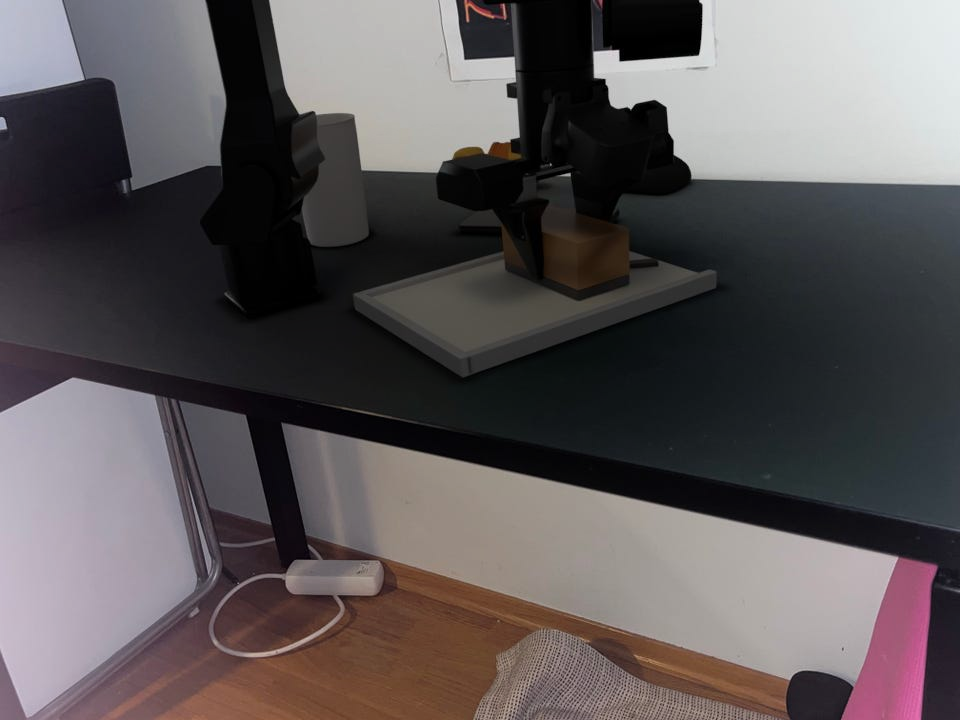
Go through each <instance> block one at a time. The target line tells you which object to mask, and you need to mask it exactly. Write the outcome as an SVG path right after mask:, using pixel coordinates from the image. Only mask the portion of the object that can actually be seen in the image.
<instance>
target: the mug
mask: <svg viewBox="0 0 960 720" xmlns="http://www.w3.org/2000/svg"><path fill="white" fill-rule="evenodd" d="M316 118H317V139H318V143H319V147H320V150H321V151H322V153H323V155H324V157H325V160H324V161H323V162H322V163H320V164H319V175H318V179H317V182H316V183H315V185H314V186H313V188H312V189H311V191H310V192H309V193H308V194H307V195H306V196H304V200H303V206H302V211H301V213H302V217H303V223H304V227H305V228H304V229H305V232H306V236H307V237H306V238H307V239H309V240H310V245H311V246H314V247H319V248H335V247H336V248H337V247H343V246H348V245H352V244H355V243H356V244H357V243H359V242H362V241H363V240H365V239H367V238H368V237H369V234H370V230H369V220H368V211H367V202H366V195H365V187H364V186H365V185H364V179H363V171H362V163H361V155H360V146H359V138H358V131H357V125H356V116H355V115H354V114H353V113H349V112H333V113H331V112H330V113H321V114H320V113H319V114H316Z"/></svg>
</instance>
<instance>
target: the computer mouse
mask: <svg viewBox="0 0 960 720" xmlns="http://www.w3.org/2000/svg"><path fill="white" fill-rule="evenodd" d="M692 177H693V175H692V171H691V168H690V166H689V164H688V163H687V162H686V161H684V160H683V159H681V158H680V157H679V156H677V155H675V154H674V164H671V165H667V166H663V167H659V168H655V169H651V170H647V169H646V170H645V174H644V176H643V179H642V180H641V181H640V182H638V183H635V184H633V185H632V186H631V187H630V188H629V189H628V190H627V191H626V192H632V193H633V192H634V193H643V194H666V193H669V192H673V191H676V190H677V189H679V188H681V187H684V186H685V185H687V184H688V183H689V182H690V181H691V180H692Z"/></svg>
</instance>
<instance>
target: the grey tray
mask: <svg viewBox="0 0 960 720" xmlns="http://www.w3.org/2000/svg"><path fill="white" fill-rule="evenodd" d="M653 258H654V257H650V256H646V255H643V254H640V253H637V252H633V251H630V250H629V260H641V259H653ZM657 260H658V262H659V266H657V267H646V268H634V269H630V274H629V275H630V284H628V285H625V286H622V287H619V288H615V289H612V290H609V291H606V292H603V293H600V294H597V295H594V296H591V297H588V298H585V299H582V300H577V299H574V298H572V297H569V296H567V295H564V294H562V293H560V292H557V291H555V290H552V289H550V288H548V287H545V286H543V285H540V284H538V283H536V282H533V281H531V280H528V279H526V278H524V277H521V276H519V275H516V274H514V273H512V272H509V271H507V270H505V261H504V250H502V251H500V252H495V253H492V254H488V255H485V256H481V257H478V258H475V259H471V260H467V261H464V262H460V263H456V264H454V265H453V264H452V265H450V266H446V267H444V268H439V269H436V270H432V271H429V272H426V273H425V272H424V273H422V274H417V275H414V276H410V277H407V278H404V279H400V280H396V281H393V282H390V283H387V284H383V285H379V286H376V287H372V288H369V289H365V290H361V291H358V292H353V293H352V298H353V304H354V305H353V306H354V310H355V311H357V313H359V314H361V315H363V317H366V318H367V319H369V320H371V322H374V323H375V324H377V325H378V326H380V327H382V328H383V329H385V330H386V331H388V332H390V333H391V334H392V335H394V336H396V337H398V338H399V339H401V341H404V342H405V343H407V344H408V345H410V346H412V347H413V348H414V349H416V350H418V351H420V352H421V353H423V354H424V355H426V356H427V357H429V358H430V359H432V360H433V361H436V362H437V363H439V364H440V365H442V367H443V366H444V367H445V368H446V369H448V370H450V371H451V372H452V373H454V374H456V375H457V376H459V377H460V378H463V379H464V378H466V377H469V376H472V375H475V374H476V373H479V372H482V371H485V370H487V369H488V370H489V369H491V368H494V367H496V366H500V365H503V364H506V363H508V362H511V361H514V360H516V359H519V358H523V357H525V356H528V355H531V354H534V353H537V352H539V351H542V350H545V349H548V348H551V347H554V346H557V345H559V344H562V343H565V342H568V341H570V340H574V339H576V338H579V337H581V336H586V335H587V334H590V333H593V332H596V331H599V330H601V329H604V328H607V327H610V326H614V325H616V324H618V323H622V322H625V321H628V320H629V319H633V318H636V317H639V316H641V315H644V314H646V313H650V312H653V311H656V310H658V309H662V308H664V307H667V306H670V305H673V304H675V303H678V302H680V301H681V302H682V301H684V300H687V299H689V298H693V297H695V296H698V295H701V294H704V293H706V292H709V291H713V290H715V289H717V283H718V282H717V281H718V280H717V279H718V278H717V277H718V272H717V271H716V270H713V269H706V270H703V271H700V272H696V271H693V270H690V269H687V268H683V267H681V266H678V265H675V264H671V263H669V262H665V261H662V260H659V259H657Z"/></svg>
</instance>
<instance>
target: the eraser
mask: <svg viewBox="0 0 960 720" xmlns="http://www.w3.org/2000/svg"><path fill="white" fill-rule="evenodd" d="M562 208H563V207H558V206H554V205H550V204H548V205H547V207H546V209H545V211H544V213H543V215H542V217H541V225H542V240H543V256H544V269H543V279H542V280H536V279H534V278H532V277H531V275H530V273H529V271H528V269H527V268H526V266H525V264H524V262H523V260H522V258H521V256H520V255H519V253H518V251H517V249H516V247H515V245H514V243H513V241H512V240H511V238H510V236H509V234H508V232H507V231H506V229H505V227H504V226H503V224H502V223H501V225H502V233H501V236H502V237H501V238H502V248H503V250H502V251H504V261H505V270H507V271H509V272H512V273H514V274H516V275H519V276H521V277H524V278H526V279H528V280H531V281H533V282H536V283H538V284H540V285H543V286H545V287H548V288H550V289H552V290H555V291H557V292H560V293H562V294H564V295H567V296H569V297H572V298H574V299H577V300H582V299H585V298H588V297H591V296H594V295H597V294H600V293H603V292H606V291H609V290H612V289H615V288H619V287H622V286H625V285H628V284H630V275H629V274H630V269H629V251H630V227H627V226H624V225H620V224H616V223H614V222H613V223H610V222H607V221H603V220H600V219H596V218H593V217H589V216H586V215H582V214H579V213H575V212H572V211H568V210H565V209H562Z"/></svg>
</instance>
